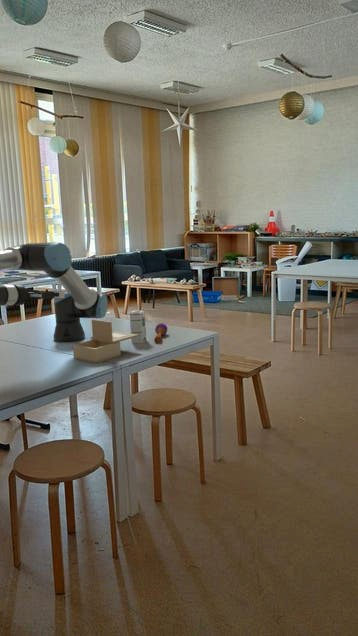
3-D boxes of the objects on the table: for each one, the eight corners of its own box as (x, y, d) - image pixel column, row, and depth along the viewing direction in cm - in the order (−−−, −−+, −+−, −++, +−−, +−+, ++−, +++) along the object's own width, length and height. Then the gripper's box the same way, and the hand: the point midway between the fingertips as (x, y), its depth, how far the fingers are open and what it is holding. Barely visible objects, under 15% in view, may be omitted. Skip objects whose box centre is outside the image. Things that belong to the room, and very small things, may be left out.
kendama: (149, 335, 262) (154, 323, 282) (153, 347, 264) (157, 334, 283) (162, 332, 262) (166, 320, 281) (165, 344, 263) (169, 332, 282)
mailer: (73, 358, 241) (72, 344, 240) (98, 351, 252) (97, 338, 251) (95, 363, 232) (94, 349, 231) (120, 355, 243) (119, 342, 241)
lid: (90, 339, 248) (89, 319, 246) (115, 332, 259) (114, 313, 257) (113, 343, 238) (112, 322, 237) (138, 336, 249) (137, 316, 248)
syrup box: (143, 343, 264) (141, 312, 261) (131, 343, 265) (129, 312, 263) (146, 340, 270) (144, 310, 267) (134, 340, 271) (132, 310, 268)
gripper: (2, 304, 214) (52, 302, 232) (23, 306, 205) (73, 304, 224) (2, 284, 213) (52, 284, 231) (23, 285, 205) (74, 285, 223)
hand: (63, 294), depth 228 cm, fingers closed
